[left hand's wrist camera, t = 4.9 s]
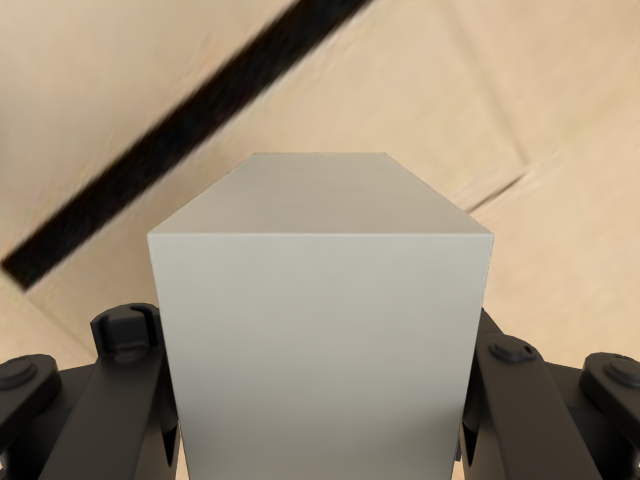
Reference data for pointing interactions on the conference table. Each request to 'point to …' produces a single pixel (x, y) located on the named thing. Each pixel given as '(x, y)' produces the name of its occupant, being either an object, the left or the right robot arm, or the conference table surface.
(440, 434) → the bar
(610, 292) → the conference table surface
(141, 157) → the conference table surface
